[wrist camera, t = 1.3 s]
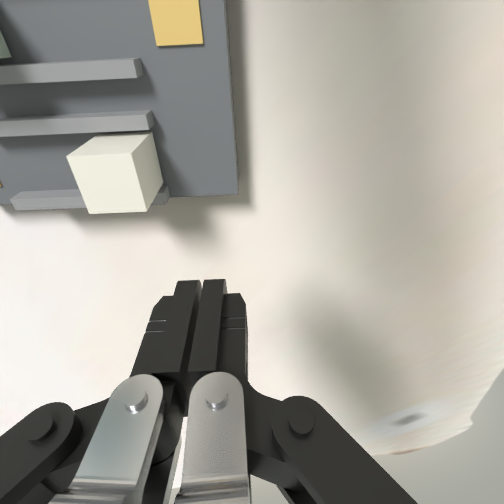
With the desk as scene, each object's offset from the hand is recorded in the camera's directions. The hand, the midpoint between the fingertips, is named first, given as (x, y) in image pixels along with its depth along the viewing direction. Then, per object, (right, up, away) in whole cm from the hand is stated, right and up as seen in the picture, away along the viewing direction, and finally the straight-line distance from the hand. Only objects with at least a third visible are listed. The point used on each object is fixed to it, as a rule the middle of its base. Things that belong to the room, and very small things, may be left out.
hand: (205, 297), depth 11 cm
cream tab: (-8, +9, +13) cm, 17 cm away
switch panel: (-12, +14, +13) cm, 23 cm away
